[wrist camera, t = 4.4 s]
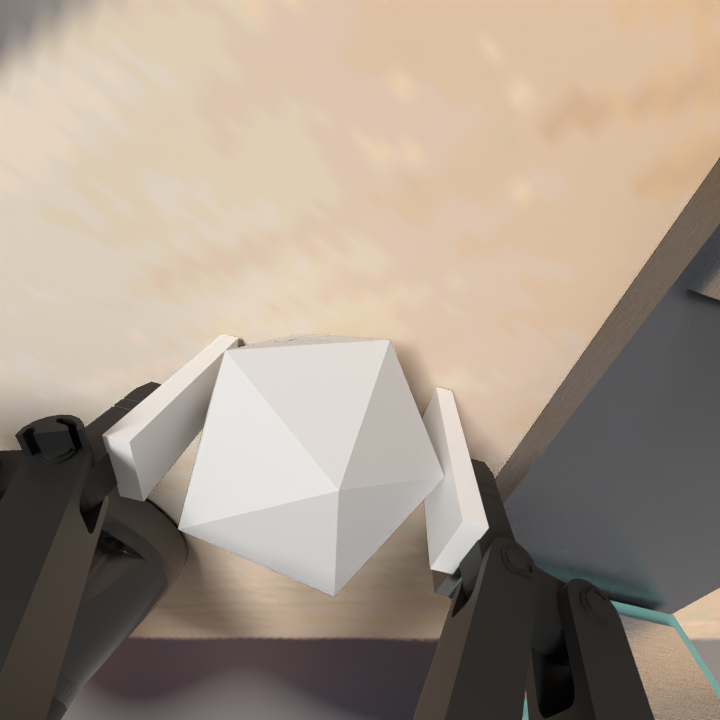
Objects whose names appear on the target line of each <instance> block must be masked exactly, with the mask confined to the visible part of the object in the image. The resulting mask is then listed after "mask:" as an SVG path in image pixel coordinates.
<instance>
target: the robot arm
mask: <svg viewBox="0 0 720 720" xmlns="http://www.w3.org/2000/svg"><path fill="white" fill-rule="evenodd" d="M234 348H238V338H237V337H233V336H229V335H225V334H221V335H220V336H219V337H218V338H217V339H215V340H214V341H213V342H212V343H211V344H210V345H208V346H207V347H206V348H205V349H204V350H202V351H201V352H200V353H199V354H198V355H196V356H195V357H194V358H193V359H192V360H191V361H189V362H188V363H187V364H186V365H185V366H183V367H182V368H181V369H180V370H179V371H177V372H176V373H175V374H174V375H173V376H172V377H170V378H169V379H168V380H167V381H166V382H164V383H163V384H158V383H154V382H150V383H148V384H145V385H143V386H140V387H138V388H136V389H135V390H133V391H132V392H131V393H129V394H128V395H127V396H126V397H124V399H122V400H120V401H119V402H118V403H116V404H115V406H114V407H111V408H110V409H109V410H107V411H106V412H105V413H104V414H102V415H101V416H100V417H98V418H97V419H96V420H95V421H93V422H92V423H91V424H89V425H88V426H87V427H84V424H83V422H82V421H81V420H80V419H79V418H77V417H74V416H71V415H56V416H50V417H45V418H43V419H40V420H37V421H34V422H32V423H30V424H29V425H27V426H25V427H23V428H22V429H21V430H20V431H19V432H18V433H17V434H16V435H15V436H16V438H17V440H18V442H19V444H20V446H21V448H22V450H12V451H0V720H61V719H62V717H63V715H64V714H65V712H66V711H67V709H68V708H69V706H70V705H71V703H72V702H73V700H74V698H75V697H76V695H77V694H78V692H79V691H80V690H81V688H82V687H83V686H84V684H85V683H86V682H87V681H88V680H89V679H90V677H91V676H92V675H93V674H94V673H95V672H96V671H97V670H98V669H99V668H100V667H101V666H102V664H103V663H104V662H105V661H106V660H107V659H108V658H109V657H110V655H112V653H113V652H114V651H115V650H116V649H117V648H118V647H119V646H120V645H121V644H122V643H123V641H124V640H125V639H126V638H127V637H128V636H129V635H130V634H131V633H132V632H133V631H134V629H135V628H136V627H137V626H138V625H139V624H140V623H141V622H142V621H143V620H144V618H145V617H146V616H147V615H148V614H149V613H150V612H151V611H152V610H153V609H154V608H155V606H156V605H157V604H158V603H159V602H160V601H161V600H162V599H163V598H164V597H165V595H166V594H167V593H168V591H169V590H170V588H171V587H172V585H173V583H174V581H175V579H176V578H177V576H178V574H179V572H180V571H181V569H182V567H183V565H184V564H185V561H186V558H187V549H186V545H185V542H184V540H183V538H182V536H181V534H180V533H179V531H178V530H177V528H176V527H175V526H174V525H173V524H172V522H171V521H170V520H169V519H168V518H167V517H166V516H165V515H164V514H163V513H161V512H160V511H159V510H158V509H157V508H155V507H154V506H153V505H152V504H150V503H149V502H147V501H146V500H145V499H146V498H147V497H148V496H149V494H150V493H151V492H152V491H153V489H154V488H155V487H156V486H157V484H158V483H159V482H160V481H161V479H162V478H163V477H164V476H165V474H166V473H167V472H168V471H169V469H170V468H171V467H172V466H173V465H174V463H175V462H176V461H177V460H178V458H179V457H180V456H181V455H182V453H183V452H184V451H185V450H186V448H187V447H188V446H189V445H190V443H191V442H192V441H193V440H194V438H195V437H196V436H197V435H198V433H199V432H200V431H201V430H202V428H203V426H204V422H205V418H206V414H207V410H208V407H209V403H210V400H211V397H212V393H213V390H214V386H215V383H216V380H217V376H218V373H219V370H220V366H221V363H222V360H223V356H224V353H225V350H229V349H234ZM422 421H423V423H424V426H425V428H426V431H427V433H428V436H429V438H430V441H431V443H432V446H433V448H434V451H435V453H436V456H437V458H438V461H439V463H440V466H441V468H442V471H443V474H444V476H445V477H444V478H443V479H442V480H441V481H440V482H439V483H438V484H437V485H436V487H435V488H434V489H433V490H432V491H431V492H430V493H429V494H428V495H427V496H426V497H425V499H424V506H425V517H426V528H427V540H428V551H429V563H430V569H432V570H437V571H441V572H445V573H450V574H453V573H454V572H455V570H456V569H457V568H458V567H459V565H460V571H461V577H462V580H461V581H460V582H459V583H458V585H457V586H456V587H455V588H454V589H453V591H452V592H451V594H450V595H449V598H451V599H452V598H453V597H454V598H453V601H452V604H451V607H450V610H449V613H448V615H447V618H446V621H445V624H444V627H443V630H442V633H441V636H440V639H439V642H438V645H437V648H436V652H435V654H434V657H433V661H432V663H431V666H430V669H429V673H428V675H427V678H426V681H425V684H424V687H423V690H422V693H421V696H420V699H419V702H418V705H417V708H416V711H415V714H414V717H413V720H522V718H523V709H524V700H525V691H526V695H527V706H528V717H529V720H655V719H654V716H653V713H652V710H651V707H650V704H649V701H648V698H647V695H646V692H645V689H644V687H643V684H642V681H641V678H640V675H639V672H638V669H637V666H636V663H635V660H634V657H633V654H632V651H631V648H630V645H629V642H628V639H627V636H626V633H625V630H624V627H623V624H622V621H621V618H620V616H619V614H618V612H617V610H616V608H615V606H614V605H613V604H612V602H611V601H610V600H609V598H608V597H607V596H606V595H605V594H604V593H603V592H602V591H601V590H600V589H599V588H598V587H596V586H595V585H593V584H592V583H590V582H588V581H587V580H583V579H580V578H575V579H571V580H570V581H569V582H568V583H564V582H562V581H560V580H559V579H557V578H555V577H553V576H552V575H550V574H548V573H546V572H544V571H543V570H541V569H540V568H538V567H537V566H535V563H534V561H533V559H532V558H531V556H530V555H529V554H528V552H527V551H526V550H525V549H524V548H523V547H522V546H521V545H519V544H518V543H517V542H516V541H515V538H514V535H513V532H512V529H511V526H510V524H509V521H508V518H507V515H506V512H505V509H504V506H503V503H502V500H501V499H500V494H499V491H498V489H497V485H496V482H495V479H494V476H493V474H492V472H491V471H490V469H489V468H488V467H487V465H486V464H485V462H482V461H478V460H474V459H470V456H469V452H468V449H467V445H466V441H465V437H464V434H463V430H462V426H461V423H460V419H459V415H458V412H457V408H456V404H455V401H454V397H453V393H452V391H451V390H447V389H443V388H439V387H436V389H435V391H434V393H433V395H432V398H431V400H430V402H429V405H428V407H427V409H426V411H425V414H424V416H423V418H422Z"/></svg>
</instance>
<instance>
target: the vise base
mask: <svg viewBox="0 0 720 720" xmlns="http://www.w3.org/2000/svg"><path fill="white" fill-rule="evenodd" d="M495 482H496V485H497V489H498V491H499V494H500V499H501V500H502V503H503V506H504V509H505V512H506V515H507V518H508V521H509V524H510V526H511V529H512V532H513V535H514V538H515V541H516V542H517V543H518V544H519V545H521V546H522V547H523V548H524V549H525V550H526V551H527V552H528V554H529V555H530V556H531V558H532V559H533V561H534V563H535V566H537V567H538V568H540V569H541V570H543V571H544V572H546V573H548V574H550V575H552V576H553V577H555V578H557V579H559V580H560V581H562V582H564V583H568V582H569V581H570V580H571V579H575V578H580V579H583V580H587V581H588V582H590V583H592V584H593V585H595V586H596V587H598V588H599V589H600V590H601V591H602V592H603V593H604V594H605V595H606V596H607V597H608V598H609V600H610V601H615V602H619V603H623V604H628V605H632V606H636V607H640V608H645V609H649V610H653V611H658V612H662V613H666V614H670V615H671V614H673V613H675V612H676V611H678V610H680V609H682V608H684V607H685V606H687V605H689V604H691V603H693V602H694V601H696V600H698V599H700V598H702V597H703V596H705V595H707V594H709V593H711V592H713V591H714V590H716V589H718V588H720V159H719V160H718V162H717V163H716V165H715V166H714V168H713V169H712V170H711V172H710V173H709V175H708V176H707V178H706V179H705V180H704V182H703V183H702V185H701V186H700V188H699V189H698V190H697V192H696V193H695V195H694V196H693V198H692V199H691V200H690V202H689V203H688V205H687V206H686V208H685V209H684V210H683V212H682V213H681V215H680V216H679V218H678V219H677V220H676V222H675V223H674V225H673V226H672V228H671V229H670V230H669V232H668V233H667V235H666V236H665V238H664V239H663V240H662V242H661V243H660V245H659V246H658V248H657V249H656V250H655V252H654V253H653V255H652V256H651V258H650V259H649V260H648V262H647V263H646V265H645V266H644V268H643V269H642V270H641V272H640V273H639V275H638V276H637V278H636V279H635V280H634V282H633V283H632V285H631V286H630V288H629V289H628V290H627V292H626V293H625V295H624V296H623V298H622V299H621V300H620V302H619V303H618V305H617V306H616V308H615V309H614V310H613V312H612V313H611V315H610V316H609V318H608V319H607V320H606V322H605V323H604V325H603V326H602V328H601V329H600V330H599V332H598V333H597V335H596V336H595V338H594V339H593V340H592V342H591V343H590V345H589V346H588V348H587V349H586V350H585V352H584V353H583V355H582V356H581V358H580V359H579V360H578V362H577V363H576V365H575V366H574V368H573V369H572V370H571V372H570V373H569V375H568V376H567V378H566V379H565V380H564V382H563V383H562V385H561V386H560V388H559V389H558V390H557V392H556V393H555V395H554V396H553V398H552V399H551V400H550V402H549V403H548V405H547V406H546V408H545V409H544V410H543V412H542V413H541V415H540V416H539V418H538V419H537V420H536V422H535V423H534V425H533V426H532V428H531V429H530V430H529V432H528V433H527V435H526V436H525V438H524V439H523V440H522V442H521V443H520V445H519V446H518V448H517V449H516V450H515V452H514V453H513V455H512V456H511V458H510V459H509V460H508V462H507V463H506V465H505V466H504V468H503V469H502V470H501V472H500V473H499V475H498V476H497V478H496V479H495ZM460 578H461V571H460V565H459V567H458V568H457V569H456V570H455V572H454V573H453V574H450V573H445V572H441V571H437V570H433V580H434V591H435V593H437V594H441V595H446V596H449V595H450V594H451V589H452V587H453V586H454V585H455V584H456V583H457V581H458V580H459V579H460Z"/></svg>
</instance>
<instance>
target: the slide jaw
mask: <svg viewBox="0 0 720 720" xmlns="http://www.w3.org/2000/svg"><path fill="white" fill-rule="evenodd" d="M461 580H462V577H461V578H460V579H459V580H458V581H457V583H456V584H455V585H454V586H453V587H452V589H451V592H452V591H453V589H454V588H455V587H456V586H457V585H458V583H459V582H460V581H461ZM453 598H454V597H453ZM453 598H452V601H453ZM611 602H612V604H613V605H614V606H615V608H616V610H617V612H618V614H619V616H620V618H621V621H622V624H623V627H624V630H625V633H626V636H627V639H628V642H629V645H630V648H631V651H632V654H633V657H634V660H635V663H636V666H637V669H638V672H639V675H640V678H641V681H642V684H643V687H644V689H645V692H646V695H647V698H648V701H649V704H650V707H651V710H652V713H653V716H654V719H655V720H720V686H719V685H718V684H717V682H716V680H715V679H714V677H713V676H712V674H711V673H710V671H709V669H708V668H707V666H706V665H705V664H704V662H703V660H702V659H701V657H700V656H699V654H698V653H697V651H696V650H695V648H694V646H693V645H692V643H691V642H690V640H689V639H688V637H687V635H686V634H685V632H684V631H683V629H682V628H681V626H680V625H679V623H678V622H677V620H676V619H675V617H674V615H670V614H666V613H662V612H658V611H653V610H649V609H645V608H640V607H636V606H632V605H628V604H623V603H619V602H615V601H611ZM522 720H529V717H528V706H527V695H526V691H525V700H524V709H523V718H522Z"/></svg>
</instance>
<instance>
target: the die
mask: <svg viewBox="0 0 720 720" xmlns="http://www.w3.org/2000/svg"><path fill="white" fill-rule="evenodd" d="M444 477H445V476H444V474H443V471H442V468H441V466H440V463H439V461H438V458H437V456H436V453H435V451H434V448H433V446H432V443H431V441H430V438H429V436H428V433H427V431H426V428H425V426H424V423H423V421H422V418H421V416H420V413H419V411H418V408H417V406H416V403H415V401H414V398H413V396H412V393H411V391H410V388H409V386H408V383H407V380H406V378H405V375H404V373H403V370H402V368H401V365H400V363H399V360H398V358H397V355H396V353H395V350H394V348H393V345H392V343H391V340H390V339H375V338H360V337H345V336H330V335H315V334H298V335H293V336H289V337H284V338H279V339H275V340H270V341H266V342H261V343H257V344H252V345H247V346H243V347H238V348H234V349H229V350H225V353H224V356H223V360H222V363H221V366H220V370H219V373H218V376H217V380H216V383H215V386H214V390H213V393H212V397H211V400H210V403H209V407H208V410H207V414H206V418H205V422H204V426H203V430H202V434H201V438H200V442H199V446H198V450H197V454H196V458H195V462H194V466H193V470H192V474H191V478H190V482H189V486H188V490H187V494H186V499H185V503H184V507H183V511H182V515H181V519H180V523H179V527H178V530H180V531H183V532H185V533H187V534H189V535H192V536H194V537H196V538H199V539H201V540H203V541H206V542H208V543H210V544H213V545H215V546H217V547H220V548H222V549H224V550H227V551H229V552H231V553H234V554H236V555H238V556H241V557H243V558H245V559H248V560H250V561H252V562H255V563H257V564H259V565H262V566H264V567H266V568H269V569H271V570H273V571H276V572H278V573H280V574H283V575H285V576H287V577H290V578H292V579H294V580H296V581H299V582H301V583H303V584H306V585H308V586H310V587H313V588H315V589H317V590H320V591H322V592H324V593H327V594H329V595H331V596H335V595H336V594H337V593H338V592H339V591H340V590H341V589H342V588H343V587H344V585H345V584H346V583H347V582H348V581H349V580H350V579H351V578H352V577H353V576H354V575H355V574H356V572H357V571H358V570H359V569H360V568H361V567H362V566H363V565H364V564H365V563H366V562H367V560H368V559H369V558H370V557H371V556H372V555H373V554H374V553H375V552H376V551H377V550H378V549H379V547H380V546H381V545H382V544H383V543H384V542H385V541H386V540H387V539H388V538H389V537H390V535H391V534H392V533H393V532H394V531H395V530H396V529H397V528H398V527H399V526H400V525H401V524H402V522H403V521H404V520H405V519H406V518H407V517H408V516H409V515H410V514H411V513H412V512H413V510H414V509H415V508H416V507H417V506H418V505H419V504H420V503H421V502H422V501H423V500H424V499H425V497H426V496H427V495H428V494H429V493H430V492H431V491H432V490H433V489H434V488H435V487H436V485H437V484H438V483H439V482H440V481H441V480H442V479H443V478H444Z"/></svg>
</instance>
